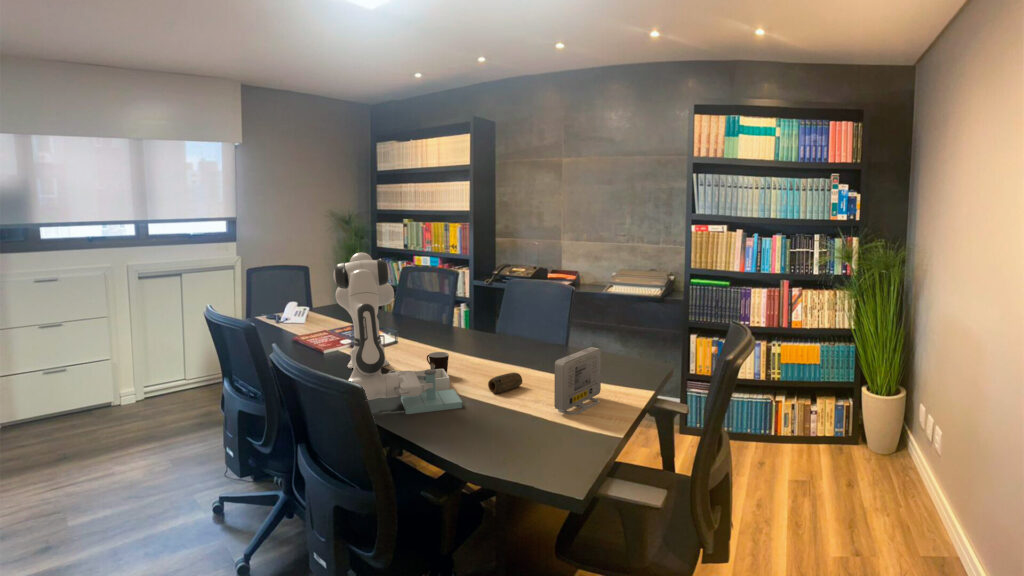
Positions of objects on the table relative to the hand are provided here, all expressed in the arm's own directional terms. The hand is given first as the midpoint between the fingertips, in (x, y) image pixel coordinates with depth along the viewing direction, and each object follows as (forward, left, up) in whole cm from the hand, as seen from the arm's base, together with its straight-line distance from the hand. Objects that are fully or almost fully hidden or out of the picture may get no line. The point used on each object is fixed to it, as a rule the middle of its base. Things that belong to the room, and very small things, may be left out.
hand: (430, 381), depth 230 cm
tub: (-18, 0, -9) cm, 20 cm away
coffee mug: (-34, +9, -9) cm, 36 cm away
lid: (0, 0, -9) cm, 9 cm away
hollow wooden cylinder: (-7, +32, -9) cm, 34 cm away
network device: (+20, +52, -9) cm, 57 cm away
